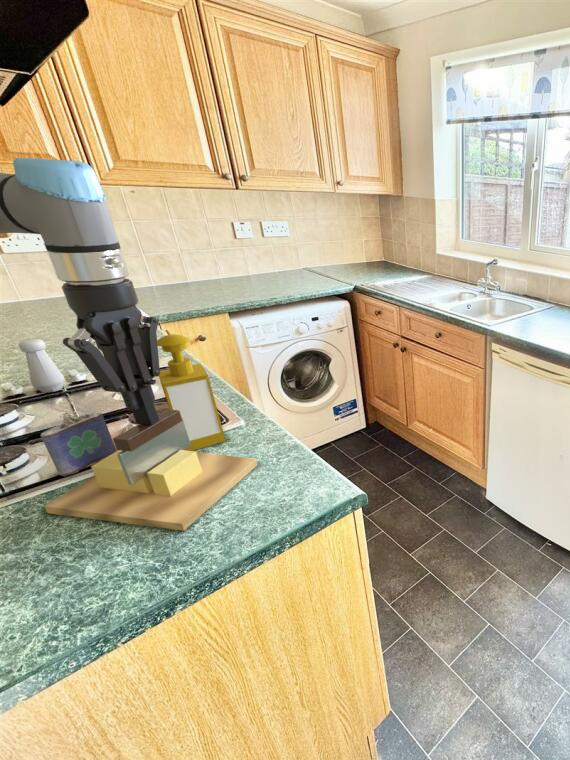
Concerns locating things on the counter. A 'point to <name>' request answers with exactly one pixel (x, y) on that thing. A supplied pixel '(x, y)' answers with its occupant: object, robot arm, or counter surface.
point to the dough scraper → (151, 444)
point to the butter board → (157, 497)
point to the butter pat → (174, 472)
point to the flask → (78, 442)
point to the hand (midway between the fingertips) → (148, 422)
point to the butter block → (117, 476)
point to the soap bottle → (190, 394)
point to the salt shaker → (41, 366)
